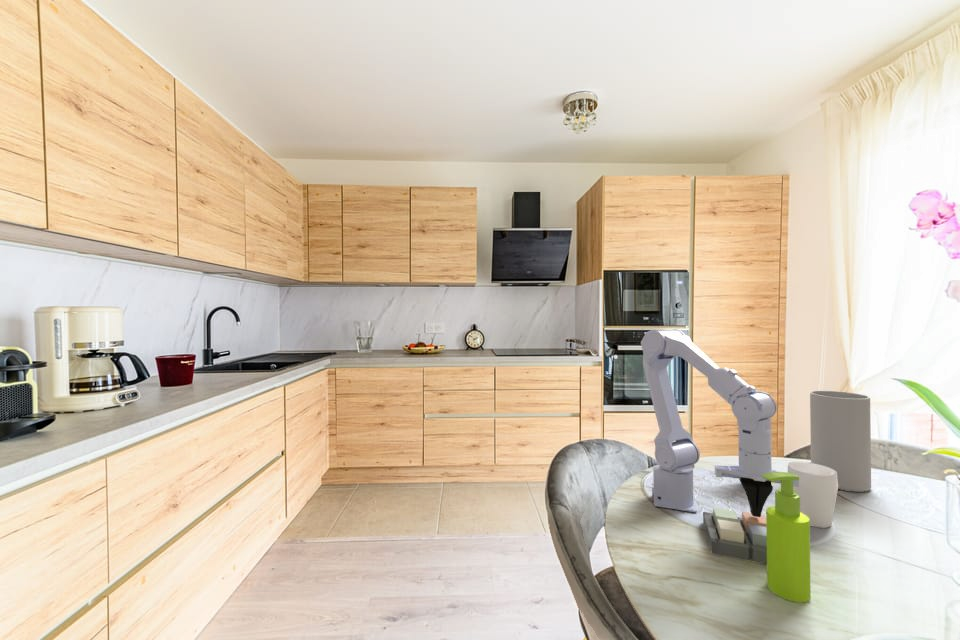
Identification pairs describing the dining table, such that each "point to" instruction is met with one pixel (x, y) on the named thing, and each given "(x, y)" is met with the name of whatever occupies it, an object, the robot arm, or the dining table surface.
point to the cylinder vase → (842, 437)
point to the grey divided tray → (733, 543)
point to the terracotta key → (752, 520)
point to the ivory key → (730, 531)
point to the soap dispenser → (787, 542)
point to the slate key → (757, 535)
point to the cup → (816, 491)
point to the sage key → (724, 515)
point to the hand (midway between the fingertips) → (755, 514)
